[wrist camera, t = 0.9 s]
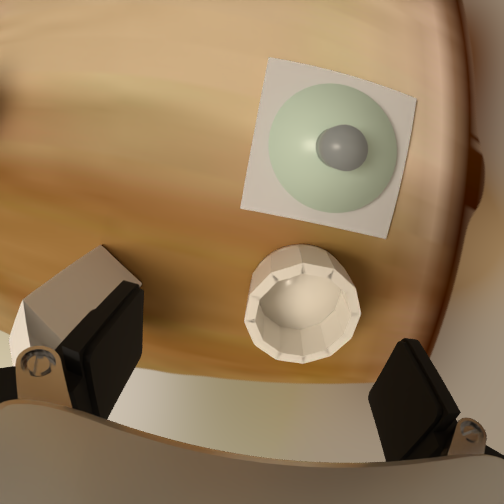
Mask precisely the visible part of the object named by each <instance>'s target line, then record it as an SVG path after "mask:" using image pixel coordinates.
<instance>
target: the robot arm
mask: <svg viewBox="0 0 504 504" xmlns="http://www.w3.org/2000/svg"><path fill="white" fill-rule="evenodd" d="M143 303H144V290H142V289H140V286H139V284H136V283H132V282H129V281H125V280H123V281H122V282H121V283H120V284H119V285H118V286H117V287H116V288H115V289H114V290H113V291H112V292H111V293H110V294H109V295H108V296H107V297H106V298H105V299H104V300H103V301H102V302H101V303H100V305H99V306H98V307H97V308H96V309H93V310H91V311H90V312H89V313H88V314H87V315H86V316H85V317H84V318H83V319H82V320H81V321H80V323H79V324H78V325H77V326H76V327H75V328H74V329H73V330H72V331H71V332H70V333H69V334H68V336H67V337H66V338H65V339H64V340H63V341H62V342H61V343H60V344H59V345H58V347H57V348H56V349H55V350H53V349H51V348H49V347H45V346H33V347H29V348H27V349H25V350H23V351H22V352H21V353H20V354H19V355H18V357H17V359H16V364H15V365H16V366H12V367H6V368H0V504H504V455H502V454H500V453H499V452H497V451H495V450H493V449H492V448H490V447H488V446H487V445H486V440H487V438H486V437H487V435H486V432H485V430H484V428H483V427H482V425H481V424H479V423H478V422H477V421H475V420H473V419H471V418H462V419H460V420H459V421H458V422H457V420H456V418H457V416H458V415H459V414H460V413H461V412H460V410H459V409H458V407H457V405H456V403H455V401H454V400H453V398H452V396H451V394H450V392H449V391H448V389H447V387H446V385H445V384H444V382H443V380H442V379H441V377H440V375H439V373H438V372H437V370H436V368H435V367H434V365H433V363H432V362H431V360H430V358H429V357H428V355H427V354H426V352H425V350H424V349H423V347H422V346H421V344H420V342H419V341H418V340H415V339H408V338H404V339H402V340H401V341H399V342H398V343H397V344H396V346H395V348H394V350H393V352H392V354H391V355H390V357H389V359H388V361H387V363H386V365H385V366H384V368H383V370H382V372H381V373H380V375H379V377H378V379H377V380H376V382H375V384H374V385H373V387H372V389H371V390H370V392H369V396H368V400H369V403H370V407H371V410H372V413H373V417H374V420H375V423H376V426H377V430H378V434H379V437H380V441H381V445H382V448H383V452H384V455H385V459H386V462H370V463H328V462H306V461H292V460H281V459H272V458H264V457H256V456H249V455H242V454H236V453H231V452H225V451H220V450H214V449H210V448H205V447H200V446H196V445H191V444H187V443H183V442H179V441H175V440H171V439H168V438H164V437H161V436H157V435H153V434H150V433H146V432H143V431H139V430H137V429H133V428H130V427H127V426H124V425H121V424H118V423H115V422H113V421H110V420H107V419H108V417H109V415H110V413H111V410H112V409H113V407H114V405H115V403H116V401H117V399H118V398H119V396H120V394H121V392H122V390H123V388H124V386H125V384H126V383H127V381H128V379H129V377H130V376H131V374H132V372H133V370H134V368H135V367H136V365H137V363H138V361H139V359H140V357H141V354H142V335H143Z"/></svg>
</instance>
